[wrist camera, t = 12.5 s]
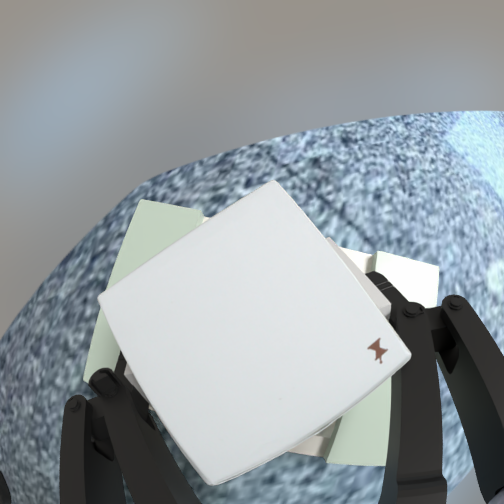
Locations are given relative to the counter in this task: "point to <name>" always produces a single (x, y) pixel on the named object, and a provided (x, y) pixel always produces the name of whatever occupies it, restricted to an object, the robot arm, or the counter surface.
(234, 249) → the supplement box
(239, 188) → the counter surface
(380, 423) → the cream green tray
